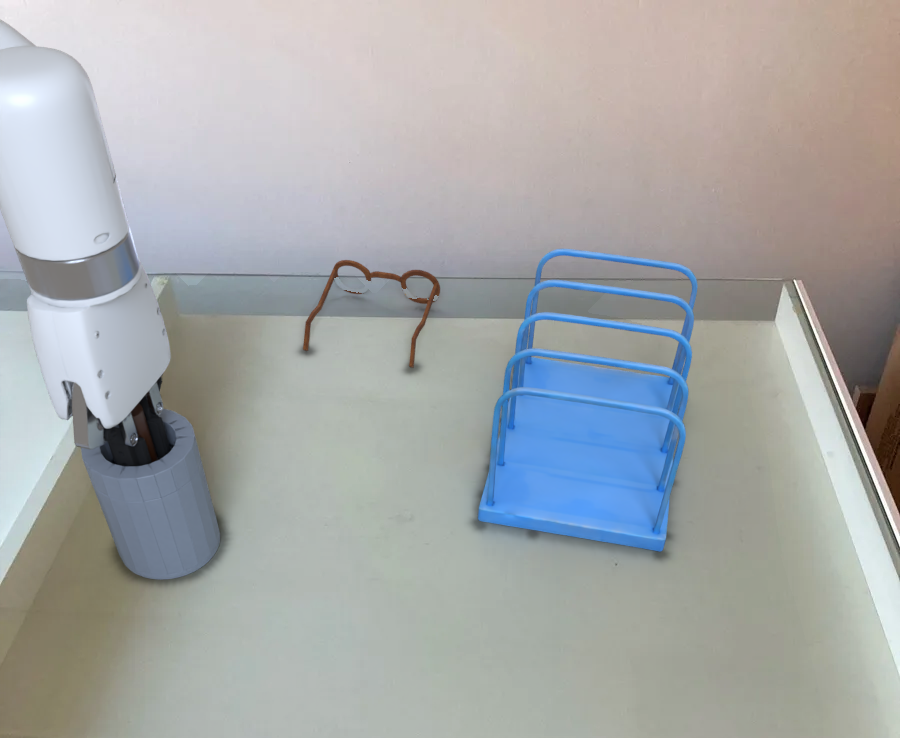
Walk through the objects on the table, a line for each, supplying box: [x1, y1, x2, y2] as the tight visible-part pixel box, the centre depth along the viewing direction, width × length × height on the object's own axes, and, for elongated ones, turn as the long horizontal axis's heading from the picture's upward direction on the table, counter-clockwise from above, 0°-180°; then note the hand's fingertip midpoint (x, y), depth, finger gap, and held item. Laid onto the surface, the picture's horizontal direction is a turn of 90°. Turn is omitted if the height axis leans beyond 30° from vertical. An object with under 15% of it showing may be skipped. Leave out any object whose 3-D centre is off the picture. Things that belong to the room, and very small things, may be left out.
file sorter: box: [477, 248, 699, 552], centre depth 86 cm, size 25×17×15 cm
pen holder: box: [80, 408, 221, 580], centre depth 79 cm, size 9×9×12 cm
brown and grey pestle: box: [131, 404, 158, 463], centre depth 77 cm, size 4×4×14 cm
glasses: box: [302, 259, 441, 369], centre depth 104 cm, size 13×13×5 cm
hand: (145, 462), depth 76 cm, fingers closed on brown and grey pestle, 2 cm apart
